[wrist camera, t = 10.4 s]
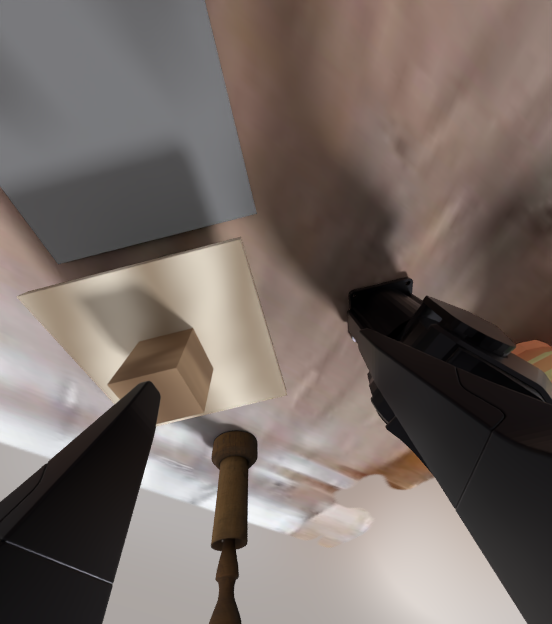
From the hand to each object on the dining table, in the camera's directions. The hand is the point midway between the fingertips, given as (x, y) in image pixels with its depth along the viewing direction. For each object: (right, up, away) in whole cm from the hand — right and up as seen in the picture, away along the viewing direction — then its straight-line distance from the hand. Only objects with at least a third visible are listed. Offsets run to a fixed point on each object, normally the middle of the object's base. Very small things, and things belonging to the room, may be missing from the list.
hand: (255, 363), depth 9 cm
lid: (-7, -1, +8) cm, 10 cm away
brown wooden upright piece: (-5, -18, +25) cm, 31 cm away
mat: (-11, +16, +5) cm, 20 cm away
